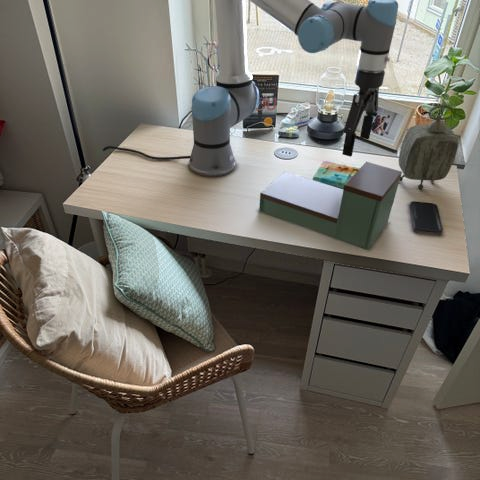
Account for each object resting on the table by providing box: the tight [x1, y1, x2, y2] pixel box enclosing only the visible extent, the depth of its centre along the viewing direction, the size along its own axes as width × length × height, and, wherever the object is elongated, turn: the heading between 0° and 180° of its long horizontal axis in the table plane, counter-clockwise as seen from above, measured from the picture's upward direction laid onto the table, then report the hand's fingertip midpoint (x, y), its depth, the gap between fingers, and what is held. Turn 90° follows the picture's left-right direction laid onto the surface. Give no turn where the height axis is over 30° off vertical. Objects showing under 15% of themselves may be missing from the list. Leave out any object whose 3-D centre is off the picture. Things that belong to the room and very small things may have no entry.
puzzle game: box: [312, 160, 361, 190], centre depth 146 cm, size 12×5×20 cm
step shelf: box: [258, 161, 403, 250], centre depth 130 cm, size 34×15×16 cm, turn 58°
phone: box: [409, 200, 444, 236], centre depth 135 cm, size 8×1×15 cm
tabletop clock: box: [398, 104, 460, 190], centre depth 140 cm, size 14×9×25 cm, turn 91°
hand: (356, 146), depth 139 cm, fingers open, 13 cm apart
